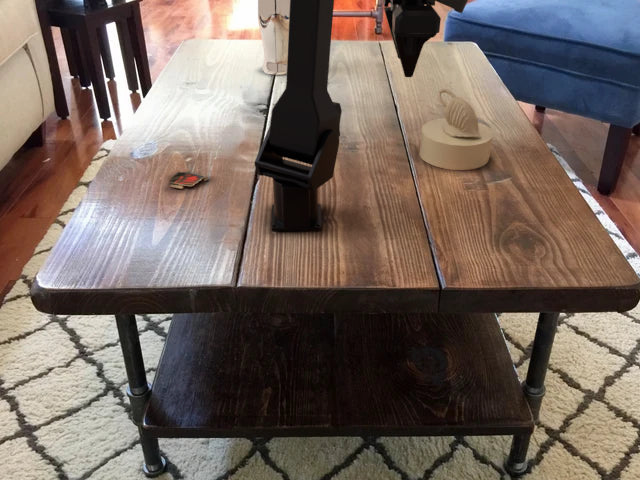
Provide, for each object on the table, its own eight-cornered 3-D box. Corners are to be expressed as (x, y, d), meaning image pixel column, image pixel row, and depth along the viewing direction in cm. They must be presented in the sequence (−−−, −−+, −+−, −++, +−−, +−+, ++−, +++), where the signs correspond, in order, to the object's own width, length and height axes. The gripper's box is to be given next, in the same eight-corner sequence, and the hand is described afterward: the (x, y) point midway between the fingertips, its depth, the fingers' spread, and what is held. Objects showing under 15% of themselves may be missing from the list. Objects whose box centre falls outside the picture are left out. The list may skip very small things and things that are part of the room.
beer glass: (256, 67, 136) (252, -10, 127) (286, 63, 139) (284, -12, 130) (267, 77, 131) (264, -2, 122) (299, 73, 134) (297, -5, 125)
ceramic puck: (496, 170, 98) (501, 145, 95) (425, 170, 97) (427, 145, 95) (480, 141, 106) (483, 117, 104) (414, 141, 106) (416, 117, 104)
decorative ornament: (459, 142, 96) (464, 107, 93) (430, 123, 102) (434, 89, 99) (482, 138, 97) (487, 104, 94) (452, 119, 103) (457, 86, 100)
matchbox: (176, 173, 95) (175, 170, 95) (209, 176, 94) (209, 173, 94) (164, 187, 91) (164, 184, 91) (199, 190, 91) (198, 187, 90)
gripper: (485, -34, 82) (468, 87, 92) (458, -56, 97) (446, 50, 107) (399, -35, 82) (391, 87, 91) (385, -57, 97) (379, 50, 106)
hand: (404, 67), depth 99 cm, fingers open, 9 cm apart
